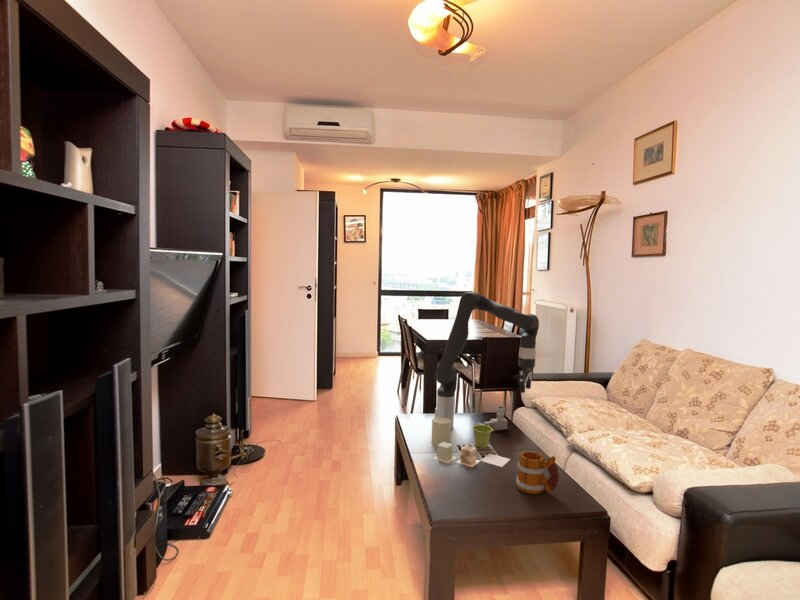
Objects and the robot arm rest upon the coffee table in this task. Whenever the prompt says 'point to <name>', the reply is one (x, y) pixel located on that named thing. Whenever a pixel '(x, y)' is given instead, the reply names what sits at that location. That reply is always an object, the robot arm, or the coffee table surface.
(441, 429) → the can
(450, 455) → the sage block
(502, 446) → the coffee table surface
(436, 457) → the code tile
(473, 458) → the beech block
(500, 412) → the camera
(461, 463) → the code tile
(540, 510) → the coffee table surface
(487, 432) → the plant pot
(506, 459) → the felt pad
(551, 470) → the mug
